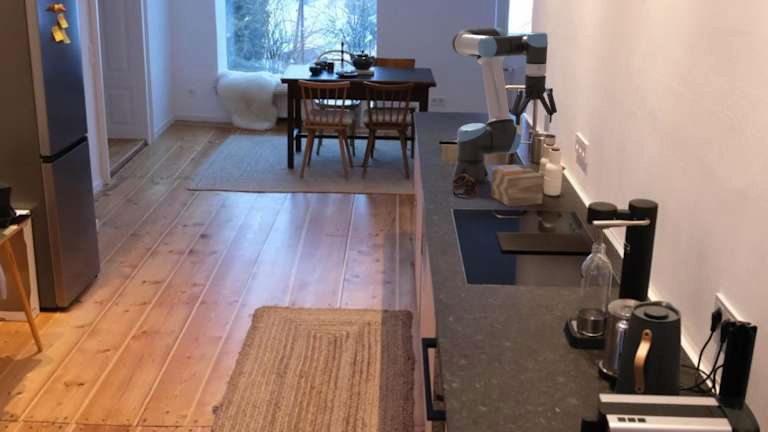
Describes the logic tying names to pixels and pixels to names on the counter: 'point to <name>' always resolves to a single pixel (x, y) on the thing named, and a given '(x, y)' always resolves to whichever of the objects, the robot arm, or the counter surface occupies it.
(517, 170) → the tile
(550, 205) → the counter surface
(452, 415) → the counter surface
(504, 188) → the oak block
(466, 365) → the counter surface
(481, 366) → the counter surface
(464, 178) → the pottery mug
